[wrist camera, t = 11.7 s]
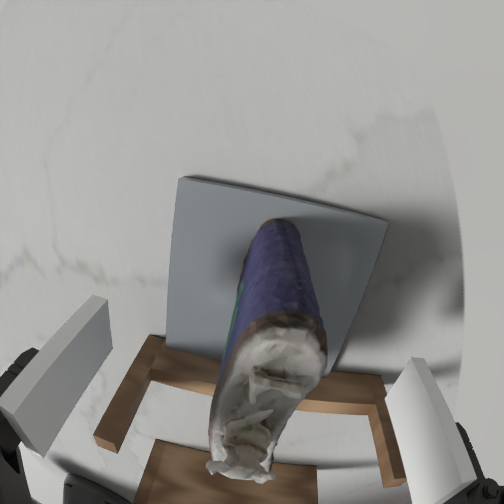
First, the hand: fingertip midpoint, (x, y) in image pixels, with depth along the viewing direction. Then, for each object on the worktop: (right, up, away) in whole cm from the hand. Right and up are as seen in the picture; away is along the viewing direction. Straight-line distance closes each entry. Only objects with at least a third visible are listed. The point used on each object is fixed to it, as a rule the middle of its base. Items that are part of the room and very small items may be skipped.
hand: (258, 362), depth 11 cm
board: (+1, +2, +6) cm, 6 cm away
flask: (0, +2, +5) cm, 6 cm away
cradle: (-1, -10, +11) cm, 15 cm away
